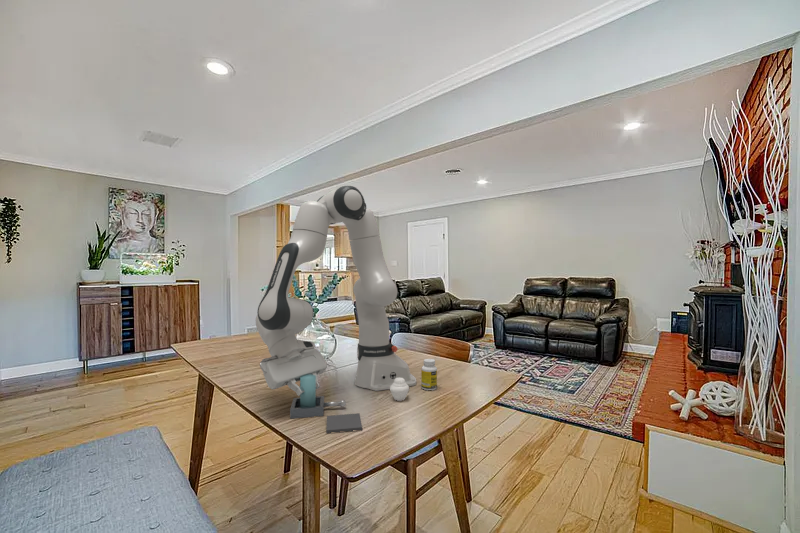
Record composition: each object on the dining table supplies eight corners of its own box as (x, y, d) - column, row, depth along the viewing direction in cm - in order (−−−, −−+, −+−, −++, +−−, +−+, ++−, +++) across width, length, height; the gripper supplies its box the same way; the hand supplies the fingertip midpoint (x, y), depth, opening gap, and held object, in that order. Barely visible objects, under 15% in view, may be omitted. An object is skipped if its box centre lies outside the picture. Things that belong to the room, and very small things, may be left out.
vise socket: (345, 402, 110) (345, 394, 110) (346, 414, 101) (346, 405, 101) (293, 406, 107) (293, 397, 107) (290, 418, 98) (290, 409, 98)
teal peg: (315, 407, 106) (316, 374, 106) (315, 413, 102) (315, 378, 102) (300, 408, 105) (300, 374, 105) (299, 414, 101) (299, 379, 101)
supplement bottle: (432, 392, 119) (432, 362, 119) (418, 389, 122) (418, 360, 122) (439, 387, 124) (439, 359, 124) (425, 384, 126) (425, 357, 127)
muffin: (410, 402, 110) (410, 379, 110) (391, 403, 109) (391, 380, 109) (407, 395, 116) (407, 373, 116) (388, 396, 115) (388, 374, 115)
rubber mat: (359, 416, 100) (359, 413, 100) (362, 430, 91) (362, 427, 91) (326, 418, 98) (326, 415, 98) (326, 433, 89) (326, 430, 89)
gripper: (262, 353, 99) (284, 395, 93) (317, 341, 116) (339, 376, 110) (252, 367, 101) (274, 409, 96) (308, 352, 118) (329, 387, 113)
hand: (309, 391), depth 103 cm, fingers closed on teal peg, 4 cm apart
